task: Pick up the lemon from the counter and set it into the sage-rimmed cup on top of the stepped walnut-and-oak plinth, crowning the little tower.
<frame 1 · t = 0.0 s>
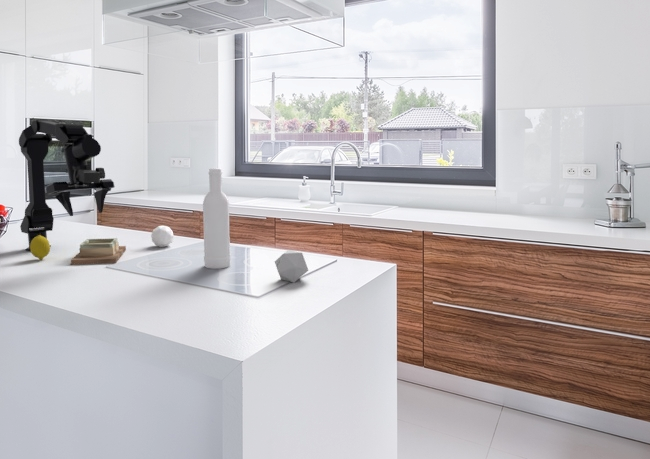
hand: (86, 214, 159), 15 cm above the countertop, tool pointing down, fingers open, 9 cm apart
ball: (162, 246, 189), on the countertop
bottle: (217, 266, 161), on the countertop
die: (291, 280, 146), on the countertop
lemon: (41, 260, 166), on the countertop
plinth: (100, 256, 171), on the countertop
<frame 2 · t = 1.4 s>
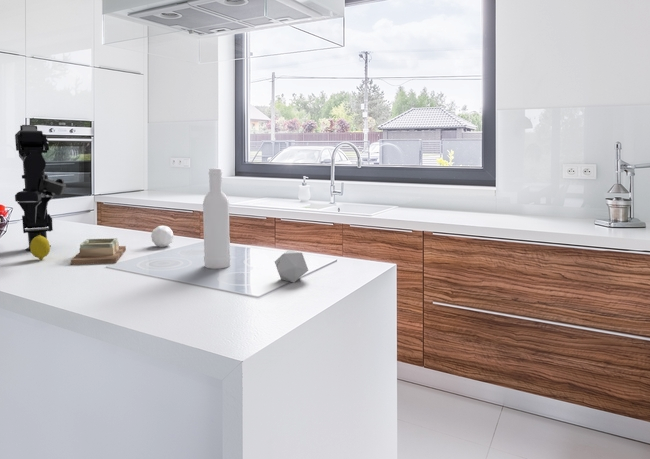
hand: (38, 221, 164), 12 cm above the countertop, tool pointing down, fingers open, 9 cm apart
nothing on the countertop moved.
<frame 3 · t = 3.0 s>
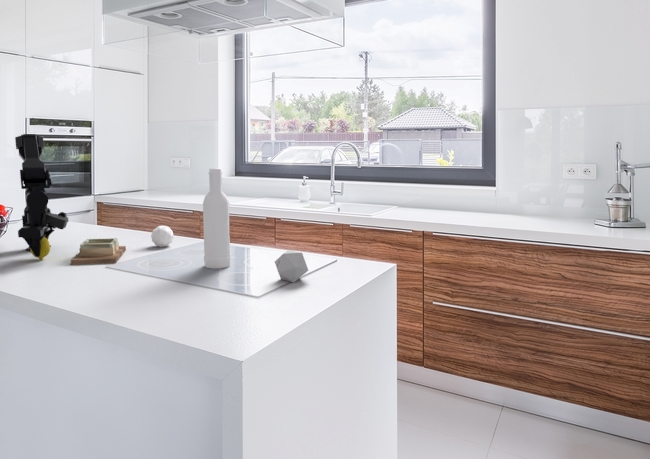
hand: (40, 254, 166), 2 cm above the countertop, tool pointing down, fingers closed on lemon, 5 cm apart
lemon: (41, 260, 166), on the countertop, touching gripper
everything else where it was.
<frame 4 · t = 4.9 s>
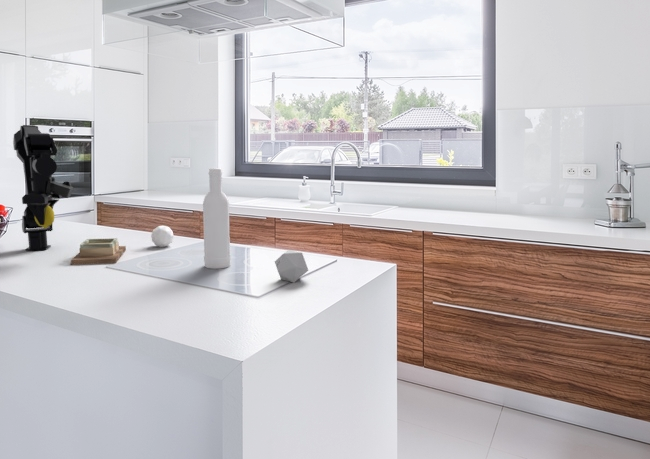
hand: (45, 223, 165), 12 cm above the countertop, tool pointing down, fingers closed on lemon, 5 cm apart
lemon: (45, 229, 165), point 10 cm above the countertop, touching gripper
everything else where it was.
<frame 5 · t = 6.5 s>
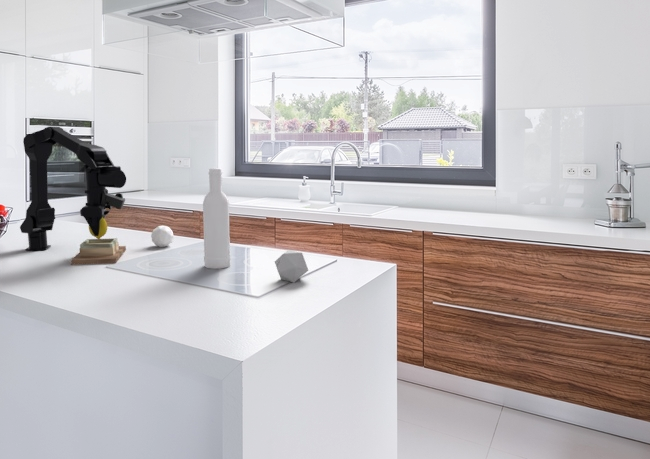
hand: (98, 234, 170), 8 cm above the countertop, tool pointing down, fingers closed on lemon, 5 cm apart
lemon: (98, 239, 170), point 6 cm above the countertop, touching gripper
everything else where it was.
when the fingers open (7 cm above the countertop, at t = 7.0 s): lemon drops 1 cm, resting on plinth.
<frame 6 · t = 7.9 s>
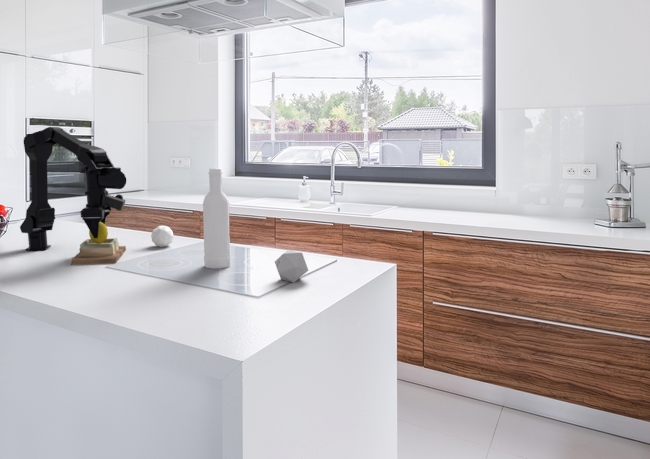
hand: (98, 235, 170), 7 cm above the countertop, tool pointing down, fingers open, 9 cm apart
lemon: (99, 245, 170), point 4 cm above the countertop, touching plinth
everything else where it was.
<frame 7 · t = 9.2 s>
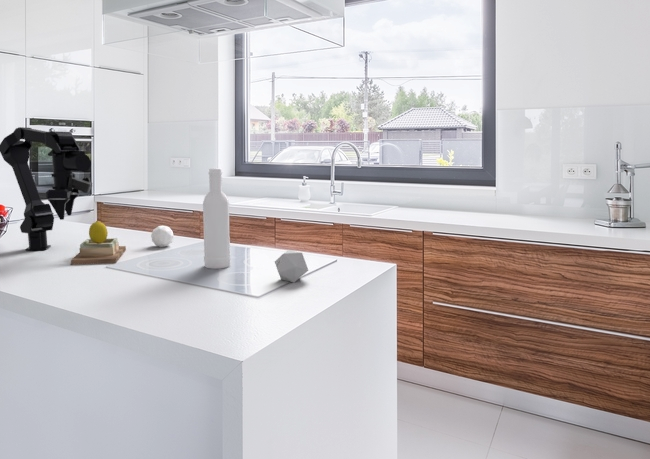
hand: (65, 217, 173), 12 cm above the countertop, tool pointing down, fingers open, 9 cm apart
nothing on the countertop moved.
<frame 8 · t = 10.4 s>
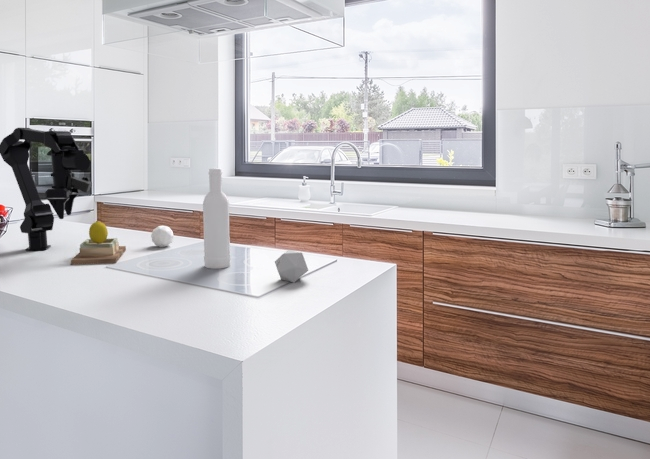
hand: (65, 216, 173), 13 cm above the countertop, tool pointing down, fingers open, 9 cm apart
nothing on the countertop moved.
at the end: lemon 0.1 cm off-centre on the plinth, point 3.8 cm above the plinth's base; the gripper is holding nothing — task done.
